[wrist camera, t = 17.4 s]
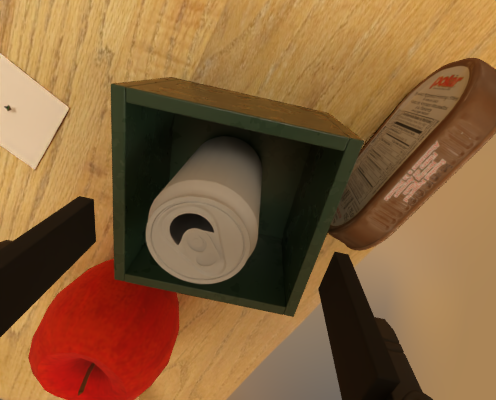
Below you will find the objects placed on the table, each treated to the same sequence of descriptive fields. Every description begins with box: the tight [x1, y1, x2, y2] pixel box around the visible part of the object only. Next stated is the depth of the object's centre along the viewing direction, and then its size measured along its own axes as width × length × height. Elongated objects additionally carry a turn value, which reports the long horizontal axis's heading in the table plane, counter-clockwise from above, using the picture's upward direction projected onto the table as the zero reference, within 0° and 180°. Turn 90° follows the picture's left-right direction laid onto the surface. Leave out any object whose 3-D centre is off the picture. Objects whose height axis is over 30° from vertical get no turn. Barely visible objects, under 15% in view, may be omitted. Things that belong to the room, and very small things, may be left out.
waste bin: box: [111, 77, 364, 317], centre depth 22 cm, size 14×14×10 cm
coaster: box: [0, 54, 69, 170], centre depth 24 cm, size 8×8×1 cm
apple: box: [28, 259, 179, 400], centre depth 26 cm, size 12×12×13 cm
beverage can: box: [146, 136, 262, 284], centre depth 20 cm, size 6×6×12 cm
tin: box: [327, 58, 496, 251], centre depth 20 cm, size 15×3×8 cm, turn 150°
